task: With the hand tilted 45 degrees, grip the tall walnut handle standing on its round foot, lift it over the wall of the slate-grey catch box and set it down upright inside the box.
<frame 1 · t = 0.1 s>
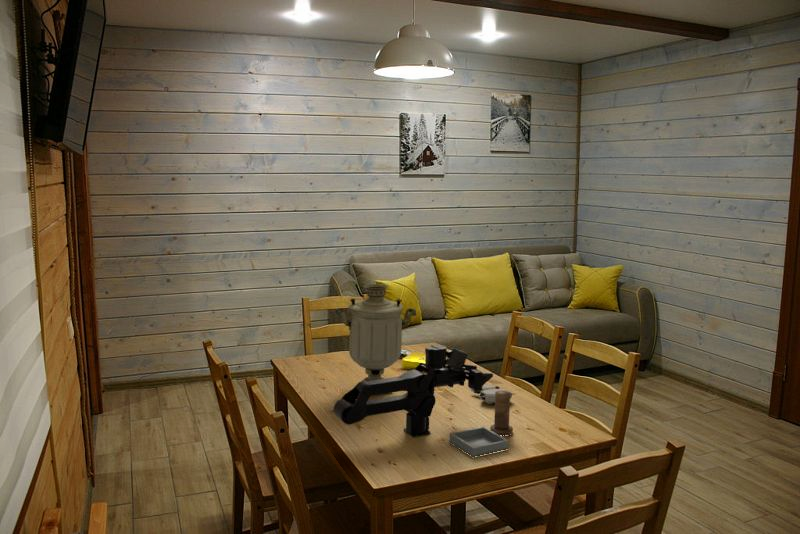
hand: (484, 371, 221), 17 cm above the table, tool horizontal, fingers open, 9 cm apart
samovar: (376, 388, 254), on the table
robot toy: (492, 400, 243), on the table
handle: (501, 432, 212), on the table
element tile: (423, 367, 284), on the table
catch box: (478, 446, 200), on the table
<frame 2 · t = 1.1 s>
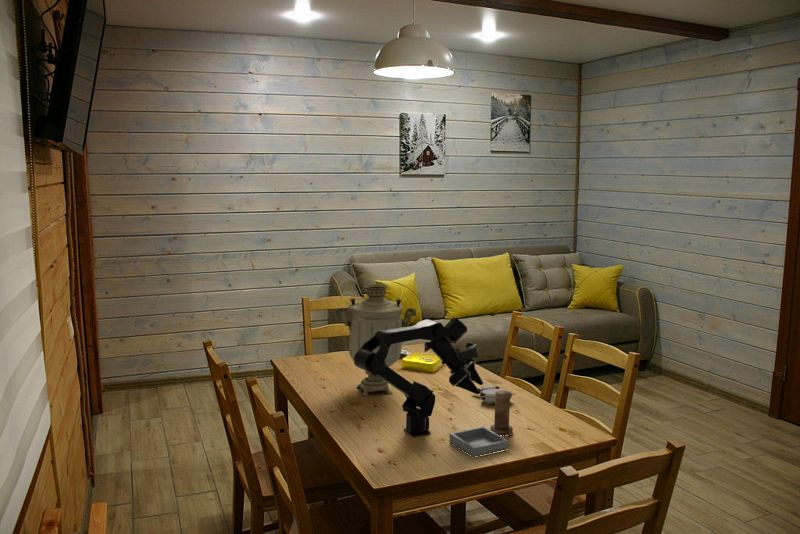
hand: (480, 388, 212), 14 cm above the table, tool tilted 45°, fingers open, 9 cm apart
nothing on the table moved.
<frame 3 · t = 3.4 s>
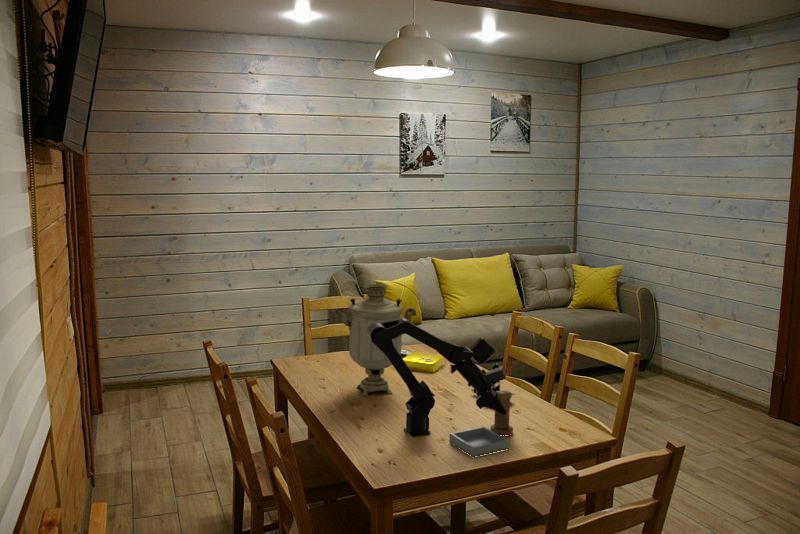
hand: (506, 411, 210), 7 cm above the table, tool tilted 45°, fingers closed on handle, 5 cm apart
handle: (501, 432, 212), on the table, touching gripper
everything else where it was.
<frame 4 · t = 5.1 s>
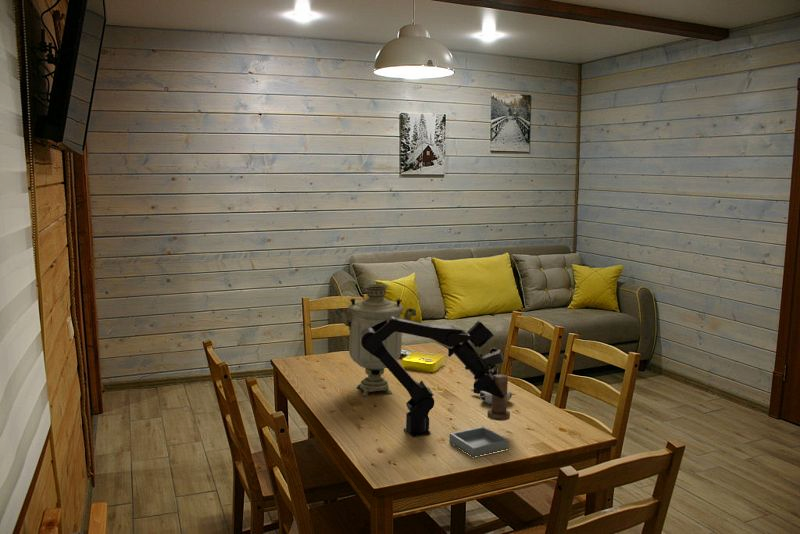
hand: (504, 395, 208), 13 cm above the table, tool tilted 45°, fingers closed on handle, 5 cm apart
handle: (498, 416, 210), point 6 cm above the table, touching gripper
everything else where it was.
when the fingers open (9 cm above the table, at t = 7.2 s): handle drops 1 cm, resting on catch box.
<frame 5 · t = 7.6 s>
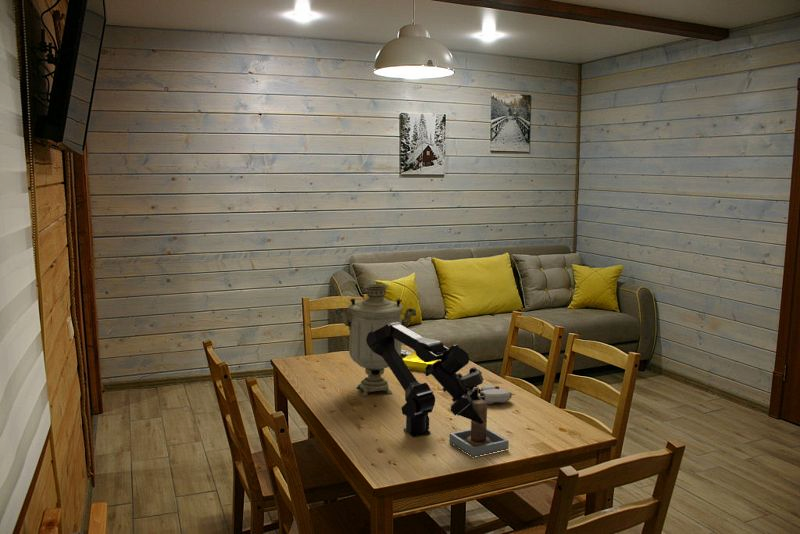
hand: (484, 417, 199), 9 cm above the table, tool tilted 45°, fingers open, 8 cm apart
handle: (478, 444, 200), point 1 cm above the table, touching catch box
everything else where it was.
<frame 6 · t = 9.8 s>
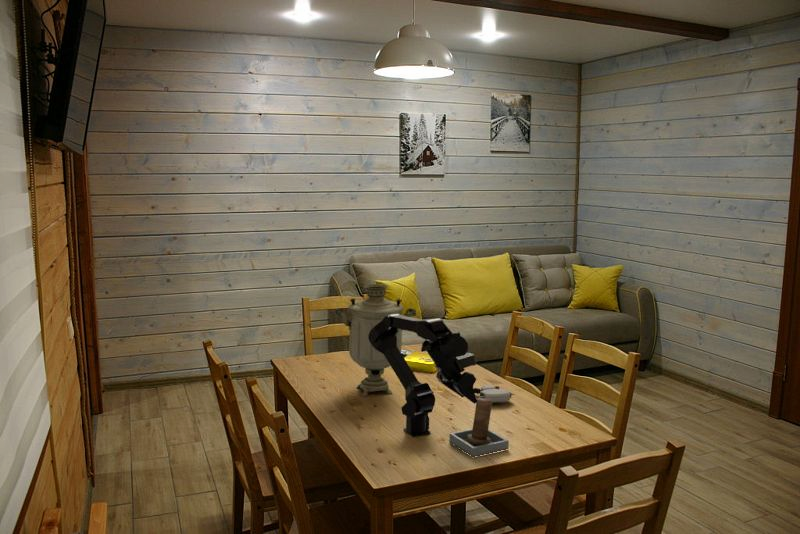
hand: (469, 399, 204), 13 cm above the table, tool tilted 35°, fingers open, 9 cm apart
handle: (478, 442, 200), point 1 cm above the table, tilted 10°, touching catch box
everything else where it was.
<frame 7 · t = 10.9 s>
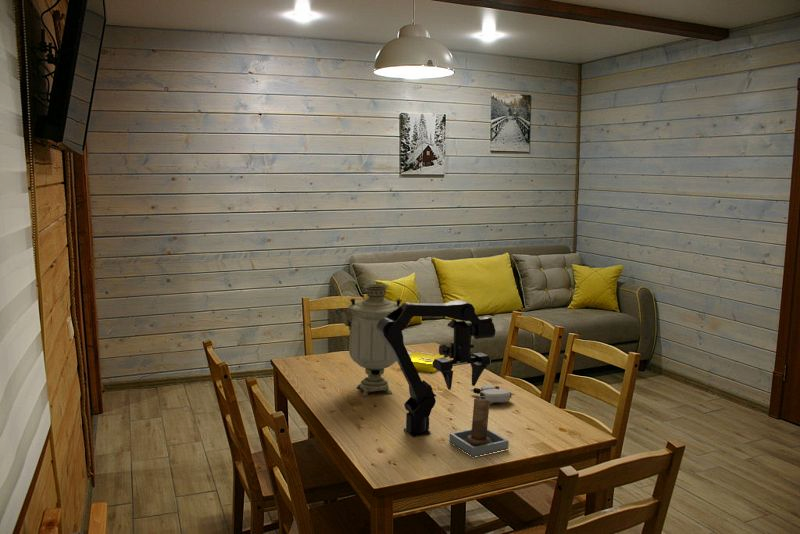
hand: (461, 387, 214), 13 cm above the table, tool pointing down, fingers open, 9 cm apart
nothing on the table moved.
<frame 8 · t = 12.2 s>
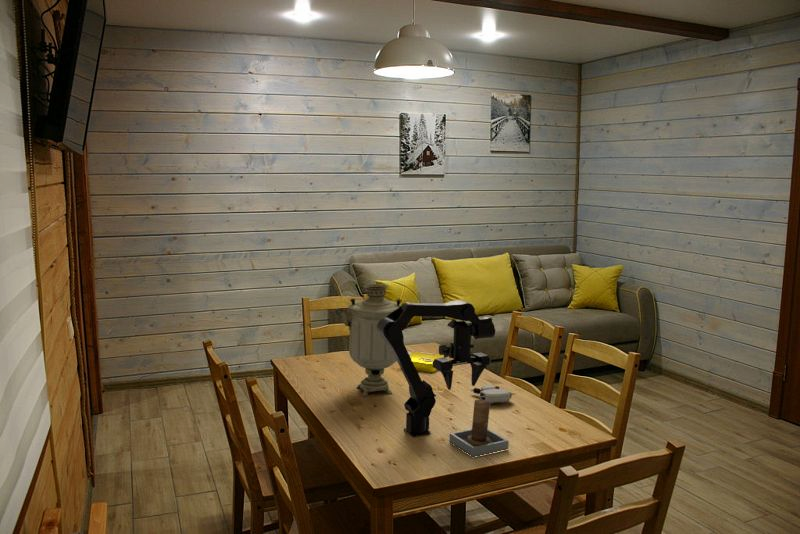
hand: (461, 387, 214), 13 cm above the table, tool pointing down, fingers open, 9 cm apart
at the end: handle inside the target area on the catch box (0.1 cm from its centre), point 0.8 cm above the catch box's base; handle tilted 4°; the gripper is holding nothing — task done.
